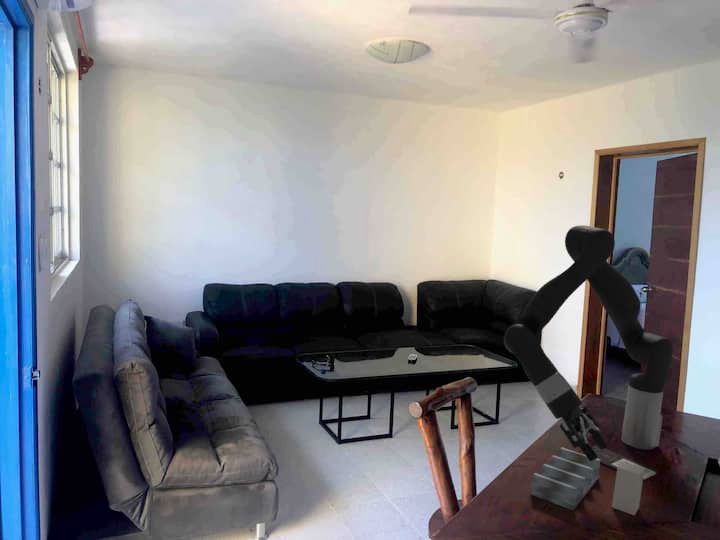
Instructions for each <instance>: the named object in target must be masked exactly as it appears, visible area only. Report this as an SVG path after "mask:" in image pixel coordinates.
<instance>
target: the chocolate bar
mask: <svg viewBox="0 0 720 540" xmlns="http://www.w3.org/2000/svg"><path fill="white" fill-rule="evenodd" d="M591 447H592V448H593V449H594V451H595V452H596V454H597V455H598V458H597V459H600V460H601V461H600V463H601V464H600V465H602V464H603V466H605V465H606V466H605V467H607V466H608V467H607V468H609V467H610V468H609V469H611V468H612V470H614V469H615V470H614V471H616V470H617V467H618V466H619V464H620V463H621V462H625V463H628V464H632V465H635V466H638V467H641V468H644V476H643V480H644V481H646V480H648V479H649V477H650V478H651V476H652V477H653V476H655V475H657V474H659V470H656V469H655V468H652V467H650V466H648V465H645V464H642V463H640V462H638V461H636V460H634V459H631V458H628V457H626V456H624V455H621V454H619V453H617V452H614V451H612V450H609V449H607V448H604V449H602V450H601V449H600V448H599V447H598V446H597V444H595V445H591ZM578 453H581V454H584V452H583V451H582V450H580V451H578ZM584 455H585V454H584ZM647 478H648V479H647ZM645 479H646V480H645Z"/></svg>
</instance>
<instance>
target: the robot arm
mask: <svg viewBox="0 0 720 540" xmlns="http://www.w3.org/2000/svg"><path fill="white" fill-rule="evenodd" d="M564 238H565V239H564V245H565V250H566V252H567V255H569V257H570V258H571V260H572V261H573V263H572V264H571V265H570V266H569V267H568V268H567V269H565V270H564V271H563V272H561V273H560V274H558V275H556V276H555V277H553V278H552V279H550V280H549V281H547V282H545V283H544V284H542V286H541V287H540V288H539V289H538V290H537V291H536V292H535V293H534V295H533V297H531V299H530V300H529V301H528V303H527V304H526V306H525V307H524V309H523V312H521V314H520V316H519V317H518V318H517V319H516V320H515V322H514V323H513V324H512V325H509V327H508V328H507V329H506V330H505V333H504V336H503V344H504V347H505V349H506V350H507V351H508V352H509V353H511V354H513V355H514V356H515V358H516V359H517V360H518V361H519V363H520V365H521V366H522V369H523V371H524V373H525V375H526V377H527V378H528V380H529V381H530V382H531V384H532V385H533V387H534V388H535V390H536V392H537V393H538V395H539V397H540V398H541V400H542V401H543V402H544V404H545V405H546V407H547V408H548V410H549V411H550V413H551V414H552V416H553V417H554V418H555V419H558V420H559V419H561V418H562V419H563V421H564V422H562V423H561V424H559V427H560V429H561V430H562V433H563V434H564V435H565V437H566V438H567V439H568V441H569V443H570V444H571V445H572V447H573V448H574V449H575V448H578V449H580V450H581V451H583V452H584V454H585V455H586V456H587V458H588V459H589V461H593V460H595V459H597V458H598V455H597V454H596V452H595V451H594V449H593V448H592V445H591V444H590V443H589V441H588V438H587V434H588V435H589V436H591V439H592V441H593V442H594V443H595V445H597V446H598V447H599V448H600V449H601V450H602V449H604V448H605V449H607V448H608V447H609V443H608V442H607V441H606V439H605V438H604V436H603V435H602V434H601V432H600V427H601V425H600V423H599V422H598V421H597V420H596V418H595V417H594V415H593V414H592V413H591V411H590V410H589V408H587V406H585V405H584V406H583V407H581V408H580V406H581V405H582V403H583V402H582V400H581V398H580V397H579V396H578V394H577V393H576V391H575V390H574V389H573V387H572V385H570V382H568V380H566V378H565V377H564V376H563V375H562V373H561V372H560V371H559V370H558V369H557V367H556V366H555V364H554V363H553V361H551V359H550V358H549V357H548V356H547V354H546V353H545V351H544V349H543V347H542V345H541V344H540V342H539V341H538V339H537V338H538V337H539V335H540V334H541V332H542V330H543V329H544V328H545V327H546V326H547V325H548V324H549V323H550V321H551V320H552V319H554V317H555V315H556V314H557V313H558V311H559V310H560V308H561V307H562V306H563V305H564V303H566V302H567V300H568V299H569V297H571V295H572V294H573V293H575V291H576V290H577V289H578V288H580V287H581V286H582V285H583V284H584V283H585V282H586V281H588V283H589V285H590V286H591V288H592V289H593V291H594V293H595V295H596V296H597V298H598V300H599V302H600V303H601V306H602V307H603V309H604V310H605V312H606V313H607V315H608V316H609V318H610V319H611V321H612V323H613V325H614V327H615V328H616V330H617V332H618V334H619V336H620V339H621V341H622V343H623V346H624V348H625V350H626V352H627V354H628V356H629V357H630V358H631V359H632V360H634V361H635V362H636V363H639V364H642V365H644V366H645V365H646V367H645V370H644V373H642V372H641V373H633V374H631V375H630V376H629V381H628V388H627V393H626V395H627V396H626V403H625V409H624V417H623V422H622V423H623V425H622V431H621V439H620V440H621V442H623V443H624V444H626V445H627V446H630V447H632V448H636V449H639V450H648V451H649V450H653V449H655V448H657V447H659V445H660V437H661V432H662V431H661V430H662V425H663V423H662V422H663V415H662V414H661V411H662V409H661V408H662V405H663V404H662V402H663V396H664V390H665V389H664V388H665V386H666V383H667V381H668V379H669V375H670V371H671V369H670V368H671V364H672V360H673V355H674V354H673V353H674V348H673V343H672V341H671V340H670V339H669V338H667V337H664V336H661V335H658V334H655V333H652V332H648V331H647V330H645V329H644V327H643V326H642V325H641V323H640V321H639V316H640V311H641V306H642V304H641V300H640V297H639V296H638V294H637V291H636V290H635V289H634V287H633V285H632V284H631V282H630V281H629V280H628V279H627V278H626V277H625V276H624V275H623V274H622V272H619V271H618V270H617V269H616V268H615V267H613V266H612V264H610V263H609V262H608V261H607V260H609V258H610V257H611V256H612V254H613V252H614V250H615V246H616V245H615V244H616V242H615V238H614V235H613V234H612V233H611V232H610V230H607V229H604V228H602V227H601V228H599V227H596V226H590V225H575V226H573V227H572V226H571V227H570V228H569V229H568V231H567V232H566V235H565V237H564Z"/></svg>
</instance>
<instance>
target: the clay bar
mask: <svg viewBox="0 0 720 540" xmlns="http://www.w3.org/2000/svg"><path fill="white" fill-rule="evenodd" d="M643 476H644V468H641V467H638V466H635V465H632V464H628V463H625V462H621V463H620V464H619V466H618V467H617V471H616V475H615V481H614V489H613V497H612V504H611V508H612V509H616V510H619V511H621V512H624V513H627V514H630V515H632V516H636V514H637V512H638V510H640V502H641V495H642V489H643V482H644V481H643Z"/></svg>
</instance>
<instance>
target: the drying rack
mask: <svg viewBox="0 0 720 540" xmlns="http://www.w3.org/2000/svg"><path fill="white" fill-rule="evenodd" d="M550 461H551V463H550V464H547V463H544V464H543V465H542V468H541V469H542V471H541V474H539V473H537V472H534V473H533V474H532V484H531V490H530V492H531V493H530V495H532V496H534V497H537V498H539V499H542V500H545V501H547V502H550V503H553V504H554V505H557V506H560V507H563V508H565V509H568V510H570V511H574V510H575V508H577V506H578V504H579V503H580V502H581V501H582V500H581V499H583V498H584V497H585V496H586V495H587V494H588V493H589V491H590V490H591V488H592V487H593V486H594V485H595V483H596V482H597V481H598V480H599V473H600V468H601V464H600V461H601V460H600V459H595V460H593V461H589V459H588V458H587V456H586V455H584V454H581V453H579V451H575V450H571V449H568V448H565V447H560V449H559V456H557V455H552V456H551V460H550ZM596 480H597V481H596Z"/></svg>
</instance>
